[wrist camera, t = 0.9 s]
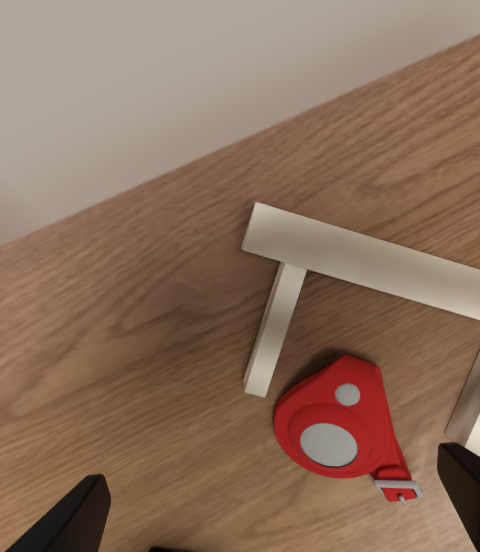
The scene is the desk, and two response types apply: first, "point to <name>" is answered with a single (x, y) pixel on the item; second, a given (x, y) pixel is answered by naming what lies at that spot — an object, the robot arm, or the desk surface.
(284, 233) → the frame
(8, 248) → the desk surface
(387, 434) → the tracker holder
